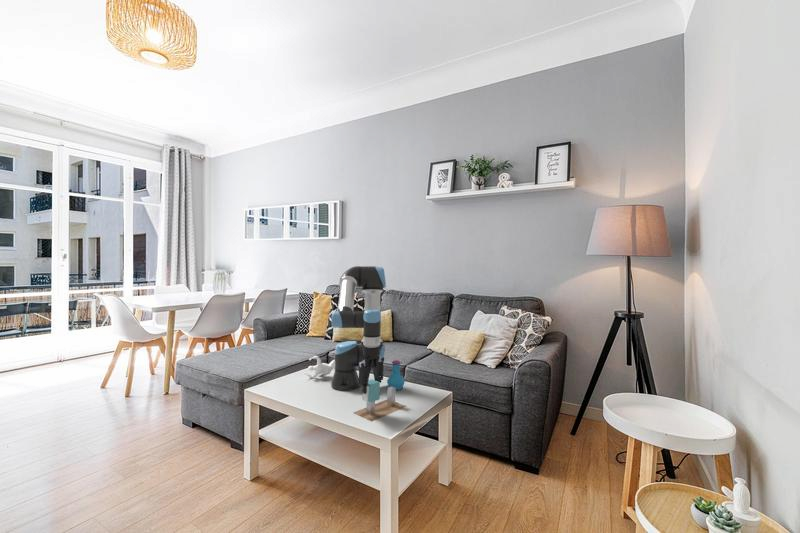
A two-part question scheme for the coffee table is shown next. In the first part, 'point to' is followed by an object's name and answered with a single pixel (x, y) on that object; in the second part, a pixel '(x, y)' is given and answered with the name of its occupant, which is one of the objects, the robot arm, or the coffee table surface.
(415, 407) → the coffee table surface
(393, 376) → the perfume bottle
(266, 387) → the coffee table surface
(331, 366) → the white branched piece
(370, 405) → the post
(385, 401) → the board
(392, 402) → the post
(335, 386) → the robot arm
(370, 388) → the teal rectangular prism
